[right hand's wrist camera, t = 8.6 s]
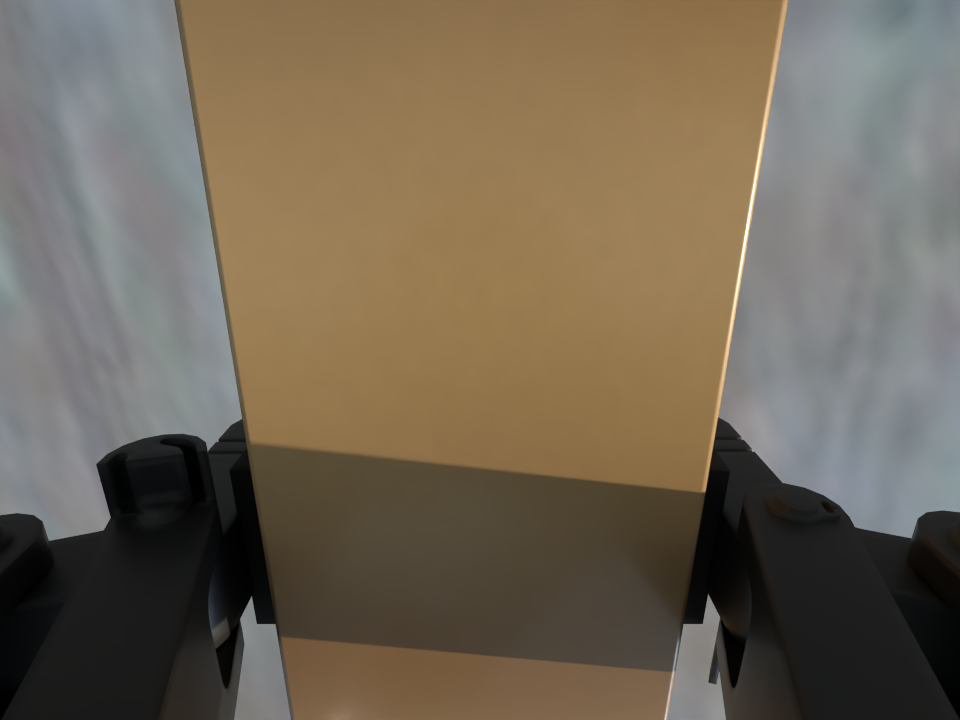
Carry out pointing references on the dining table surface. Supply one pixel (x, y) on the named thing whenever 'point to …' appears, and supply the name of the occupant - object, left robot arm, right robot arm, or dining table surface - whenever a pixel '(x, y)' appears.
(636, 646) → the bar
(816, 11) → the dining table surface
